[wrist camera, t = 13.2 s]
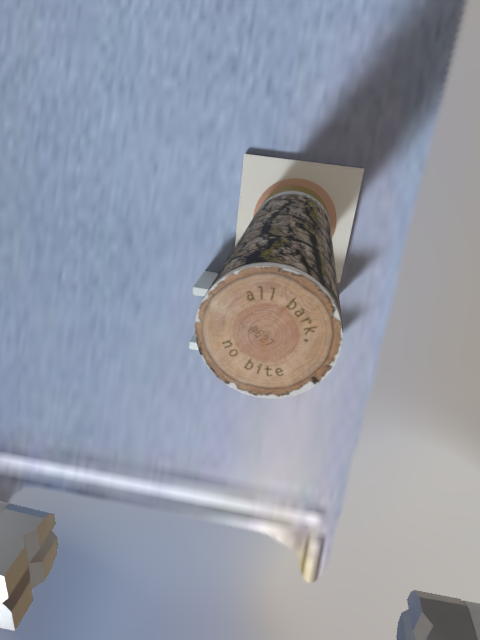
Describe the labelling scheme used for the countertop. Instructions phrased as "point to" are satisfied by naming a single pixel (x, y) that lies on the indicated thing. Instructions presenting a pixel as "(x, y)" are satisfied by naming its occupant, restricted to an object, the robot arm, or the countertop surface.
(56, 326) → the countertop surface
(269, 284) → the wooden log
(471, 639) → the robot arm
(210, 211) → the countertop surface
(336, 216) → the resting pad
